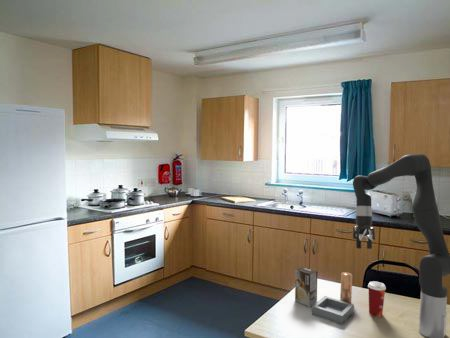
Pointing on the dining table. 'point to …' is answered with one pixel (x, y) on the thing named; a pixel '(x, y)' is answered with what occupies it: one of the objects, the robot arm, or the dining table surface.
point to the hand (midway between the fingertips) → (364, 248)
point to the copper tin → (346, 287)
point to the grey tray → (333, 310)
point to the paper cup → (376, 298)
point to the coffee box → (306, 286)
